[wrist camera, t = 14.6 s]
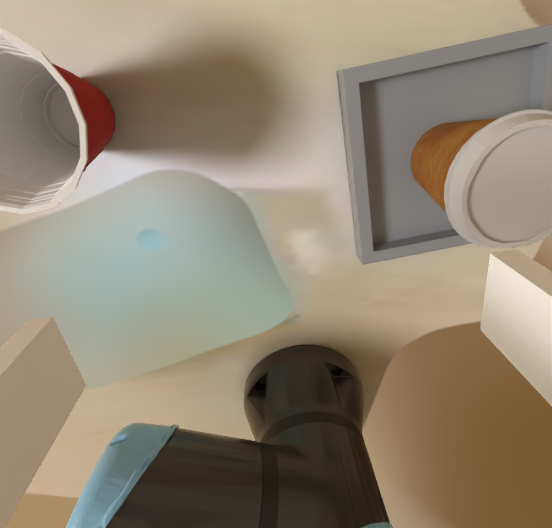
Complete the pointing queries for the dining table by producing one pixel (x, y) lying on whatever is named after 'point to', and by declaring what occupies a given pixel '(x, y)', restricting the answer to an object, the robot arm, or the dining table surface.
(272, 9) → the dining table surface
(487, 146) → the disposable coffee cup
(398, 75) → the tray
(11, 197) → the plastic cup
